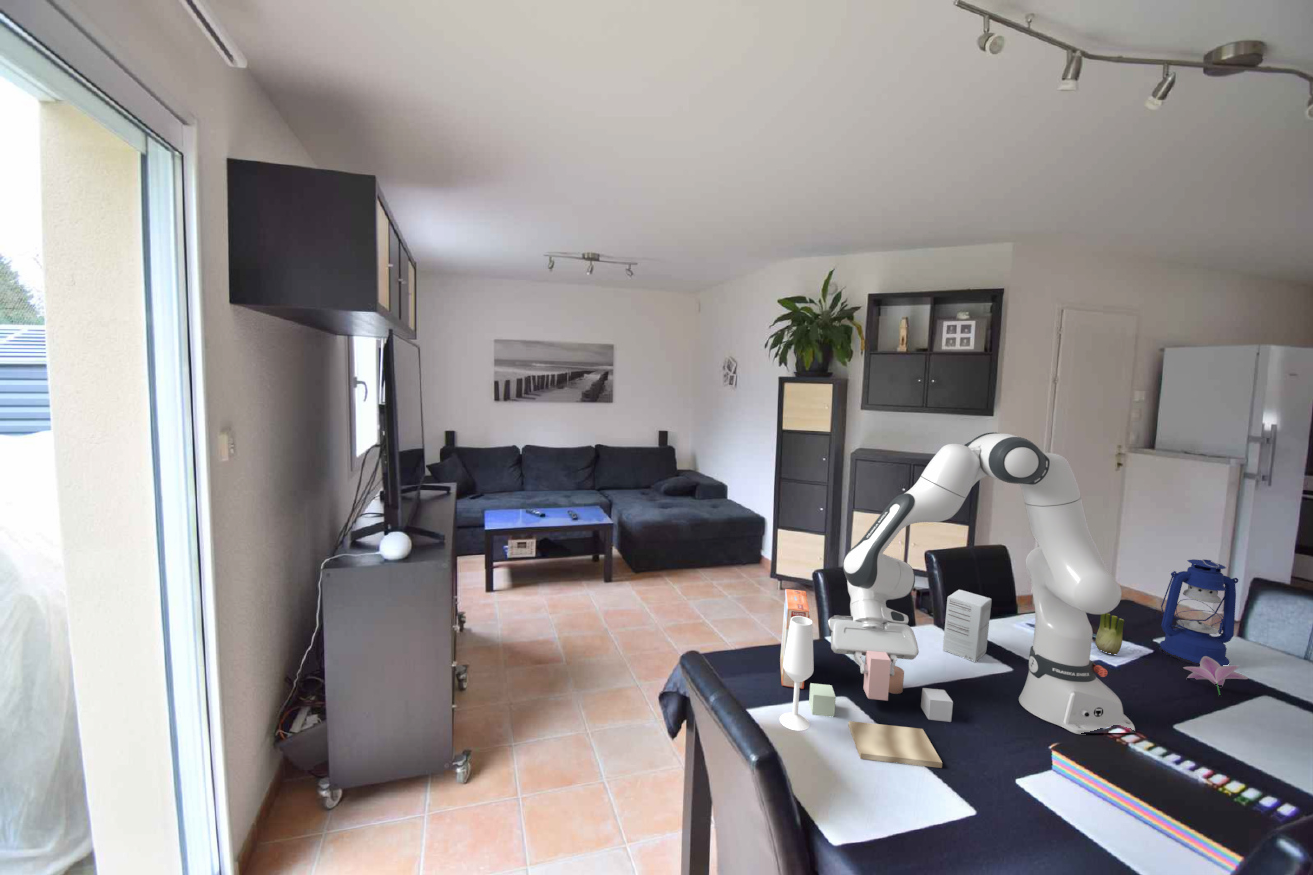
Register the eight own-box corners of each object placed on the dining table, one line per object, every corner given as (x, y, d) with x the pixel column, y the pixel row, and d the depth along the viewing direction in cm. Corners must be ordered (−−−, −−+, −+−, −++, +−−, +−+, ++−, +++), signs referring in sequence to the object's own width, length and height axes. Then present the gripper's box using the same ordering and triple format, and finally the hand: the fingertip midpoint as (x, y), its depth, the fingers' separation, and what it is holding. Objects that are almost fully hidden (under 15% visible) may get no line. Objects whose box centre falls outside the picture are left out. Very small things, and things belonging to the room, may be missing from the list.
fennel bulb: (1122, 658, 162) (1127, 619, 161) (1105, 657, 162) (1110, 618, 161) (1106, 648, 168) (1111, 611, 166) (1090, 647, 168) (1095, 610, 166)
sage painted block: (830, 704, 132) (831, 685, 131) (834, 717, 127) (835, 697, 126) (808, 702, 132) (810, 683, 132) (812, 715, 128) (813, 694, 127)
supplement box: (953, 641, 168) (958, 588, 167) (986, 652, 162) (992, 598, 160) (941, 650, 162) (946, 595, 160) (975, 663, 155) (981, 606, 154)
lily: (1255, 704, 142) (1245, 664, 145) (1248, 699, 135) (1238, 658, 139) (1192, 697, 150) (1184, 660, 154) (1183, 692, 144) (1175, 654, 148)
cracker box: (805, 690, 138) (810, 610, 136) (780, 686, 139) (786, 607, 137) (801, 663, 151) (807, 590, 149) (779, 660, 153) (784, 587, 150)
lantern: (1173, 663, 160) (1187, 563, 157) (1144, 640, 174) (1156, 549, 171) (1247, 674, 155) (1263, 572, 152) (1211, 649, 169) (1225, 556, 166)
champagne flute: (810, 716, 127) (817, 617, 124) (808, 733, 120) (816, 629, 118) (781, 710, 129) (787, 612, 126) (777, 726, 123) (784, 623, 120)
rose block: (882, 690, 134) (885, 651, 133) (887, 700, 129) (890, 660, 128) (863, 688, 134) (866, 649, 133) (868, 698, 130) (871, 658, 129)
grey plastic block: (942, 709, 132) (944, 690, 131) (951, 722, 127) (953, 701, 126) (920, 707, 132) (922, 687, 132) (928, 719, 127) (930, 699, 127)
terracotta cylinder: (898, 684, 142) (900, 665, 142) (905, 694, 138) (907, 675, 137) (879, 682, 143) (880, 663, 143) (884, 692, 138) (886, 673, 138)
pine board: (922, 733, 122) (922, 728, 122) (941, 768, 111) (942, 762, 111) (848, 726, 124) (848, 721, 124) (860, 758, 113) (860, 753, 113)
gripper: (830, 609, 138) (835, 666, 130) (914, 616, 136) (925, 674, 127) (825, 619, 143) (830, 674, 134) (907, 625, 141) (917, 682, 132)
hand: (877, 674), depth 131 cm, fingers closed on rose block, 4 cm apart
